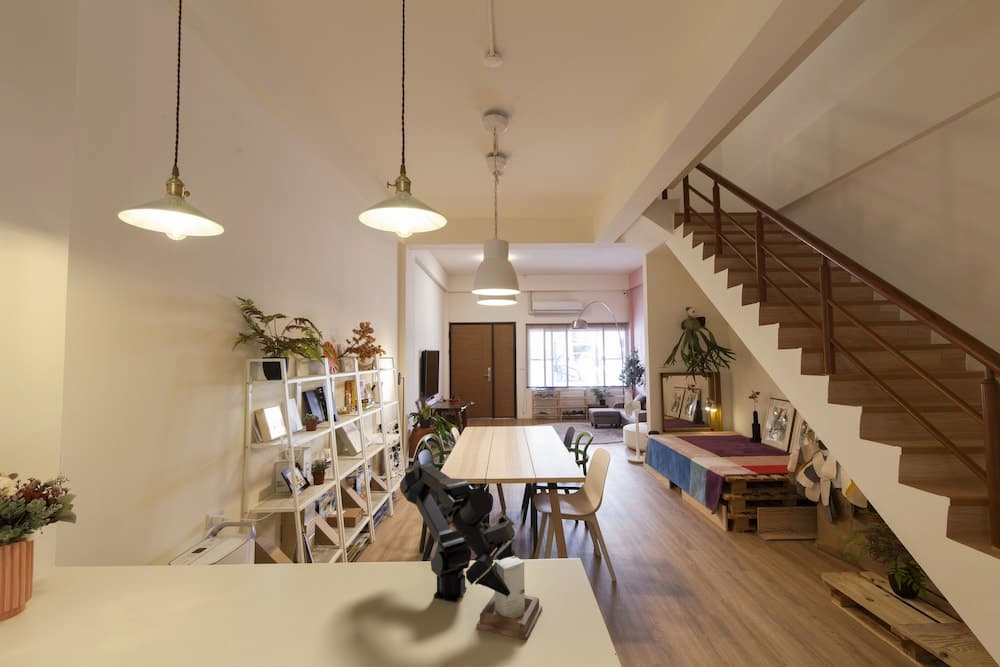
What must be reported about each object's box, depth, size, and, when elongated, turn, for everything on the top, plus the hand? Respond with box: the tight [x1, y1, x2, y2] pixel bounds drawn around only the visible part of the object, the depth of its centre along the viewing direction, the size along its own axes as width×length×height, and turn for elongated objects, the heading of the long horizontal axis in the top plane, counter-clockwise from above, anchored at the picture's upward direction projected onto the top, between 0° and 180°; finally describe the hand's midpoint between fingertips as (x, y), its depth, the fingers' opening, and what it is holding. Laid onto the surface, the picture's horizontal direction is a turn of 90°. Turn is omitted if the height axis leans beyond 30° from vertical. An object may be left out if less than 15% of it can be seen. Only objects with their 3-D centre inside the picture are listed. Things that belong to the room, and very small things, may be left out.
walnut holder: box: [476, 593, 543, 641], centre depth 103 cm, size 12×12×3 cm
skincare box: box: [494, 555, 526, 619], centre depth 103 cm, size 6×4×12 cm
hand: (515, 584), depth 103 cm, fingers open, 9 cm apart
